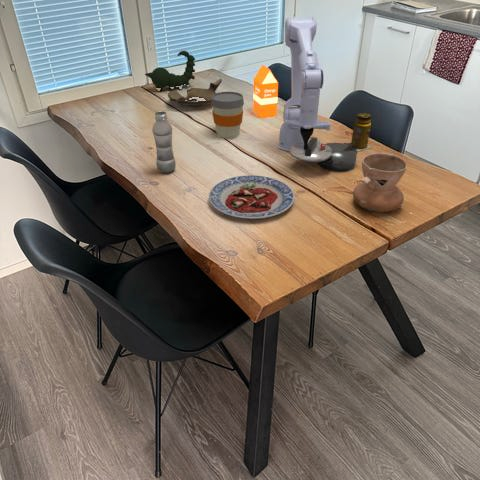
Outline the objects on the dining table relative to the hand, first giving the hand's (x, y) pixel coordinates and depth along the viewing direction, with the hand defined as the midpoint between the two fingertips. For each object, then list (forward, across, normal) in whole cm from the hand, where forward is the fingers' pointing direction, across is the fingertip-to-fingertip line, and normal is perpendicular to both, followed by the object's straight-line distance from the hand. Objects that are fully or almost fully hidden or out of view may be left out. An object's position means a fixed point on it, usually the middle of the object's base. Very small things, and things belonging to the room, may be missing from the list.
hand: (305, 148), depth 152 cm
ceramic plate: (+8, -14, -24) cm, 29 cm away
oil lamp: (+8, -53, +59) cm, 80 cm away
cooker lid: (+2, +2, +2) cm, 4 cm away
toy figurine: (+8, -72, +78) cm, 106 cm away
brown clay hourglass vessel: (+8, +24, -20) cm, 32 cm away
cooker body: (+7, +9, +7) cm, 14 cm away
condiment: (+8, +18, +22) cm, 30 cm away
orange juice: (+8, -21, +50) cm, 55 cm away
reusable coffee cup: (+8, -32, +26) cm, 42 cm away
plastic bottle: (+8, -46, -10) cm, 47 cm away
